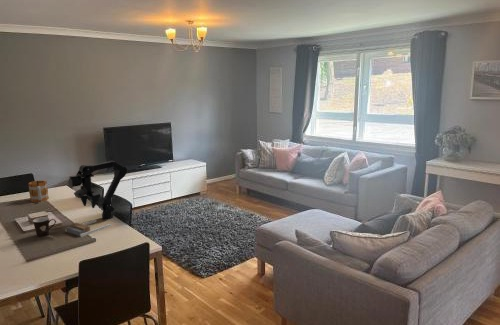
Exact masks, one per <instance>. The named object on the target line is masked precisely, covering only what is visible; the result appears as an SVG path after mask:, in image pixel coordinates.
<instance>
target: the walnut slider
mask: <svg viewBox="0 0 500 325" xmlns="http://www.w3.org/2000/svg"><path fill="white" fill-rule="evenodd" d="M70 226H71V227H74V228H78V229H81V230H84V233H85V232H88V231H91V226H89V225H83V223H80V222H74V223H70Z"/></svg>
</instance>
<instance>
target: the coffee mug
mask: <svg viewBox="0 0 500 325" xmlns="http://www.w3.org/2000/svg"><path fill="white" fill-rule="evenodd" d="M51 221H54V223H53V225H51V226H50V222H51ZM32 223H33V225H34V226H33V227H34V230H35V233H36V236H37V238H43V237H47V236H49V233H50V232H49V231H50V230H51V229H52V228H53V227H54V226H55V224H56V223H57V221H56V219H53V218H52V219H50V218H49V217H48V216H47V217H44V216H43V217H37V218H35V219H33V220H32Z"/></svg>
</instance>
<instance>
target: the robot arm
mask: <svg viewBox="0 0 500 325" xmlns="http://www.w3.org/2000/svg"><path fill="white" fill-rule="evenodd" d="M109 168H111V169H112V170H114V172H113V179H112V181H111V182H110V185H109V186H108V188H107V190H106V193H105V195H104V196H103V197H102V196H101V194H100V192H95V191H94V190H93V187H94V185H93V184H92V178H93V177H95V175H94V174H93V173H95V172H96V171H101V170H104V169H109ZM127 174H128V168H126V166H122V165H121V164H119V163H117V162H116V161H114V160H108V161H105V162H100V163H94V164H81V165H80V166H79V168H78V171H77V173H76V175H72V176H69V178H68V186H69V187H70V188H73V187H80V188H79V189H77V190H76V191H75V192H73V195H74V196H75V198H76V199H77V198H78V199H80V200H81V203H82V205H83V207H86V206H87V202H88V200H89V201H90V202H91V208H92V209H94V208H95V207H96V205H97V207H98V208H99V209H100V210H101V211H102V214H101V217H102V218H101V219H102V221H103V220H104V221H105V220H111V219H114V211H115V207H113V206H112V201H113V200H112V199H113V197H114V194H115V193H116V190H117V189H118V186H119V184H120V182H121V180H123V178H125V177H126V175H127Z"/></svg>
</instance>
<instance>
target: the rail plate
mask: <svg viewBox="0 0 500 325" xmlns="http://www.w3.org/2000/svg"><path fill="white" fill-rule="evenodd" d="M94 223H97V219H93V220H90V221H87V222H84V223H82V224H83V225H86V226H89V225H92V224H94ZM110 227H112V224H111V223H109V224H108V223H107V224H105V225H103V226H100V227H97V228H94V229H90V231H88V232H85V233H84V230H81V229H78V228H74V227H71V225H70V226H67V227H65V232H66V233H69V234H71V235H74V236H77V237H81V238H82V237H85V236H88V235H90V234H93V233H96V232H98V231H102V230H104V229H107V228H110Z"/></svg>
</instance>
